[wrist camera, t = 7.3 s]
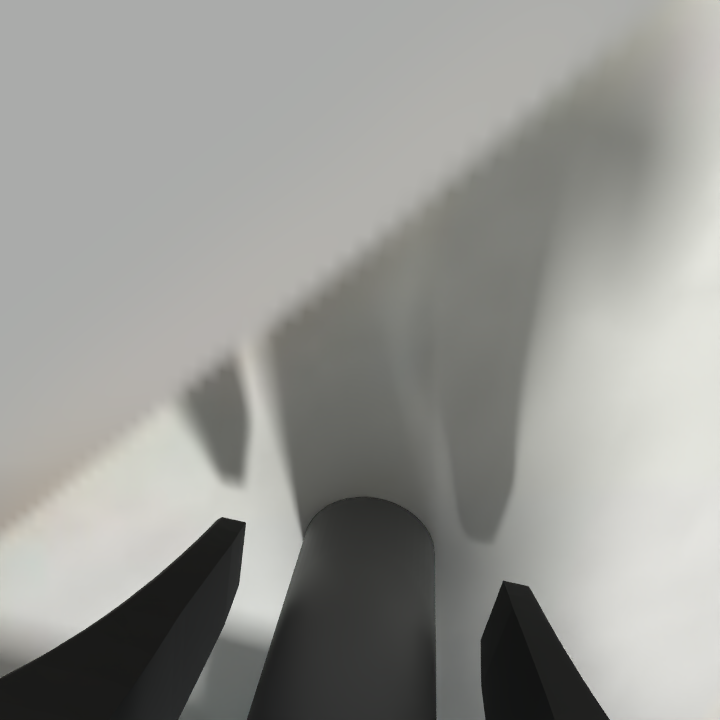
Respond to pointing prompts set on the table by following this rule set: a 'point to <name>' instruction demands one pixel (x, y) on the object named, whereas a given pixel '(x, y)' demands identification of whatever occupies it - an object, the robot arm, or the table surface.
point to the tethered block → (355, 621)
